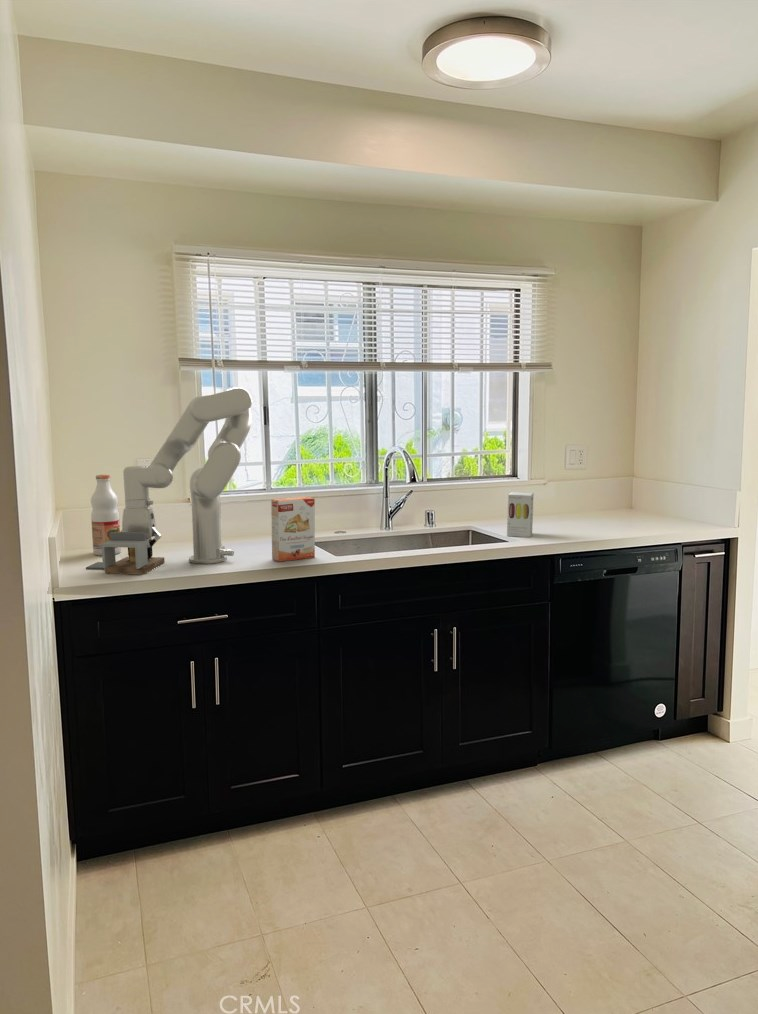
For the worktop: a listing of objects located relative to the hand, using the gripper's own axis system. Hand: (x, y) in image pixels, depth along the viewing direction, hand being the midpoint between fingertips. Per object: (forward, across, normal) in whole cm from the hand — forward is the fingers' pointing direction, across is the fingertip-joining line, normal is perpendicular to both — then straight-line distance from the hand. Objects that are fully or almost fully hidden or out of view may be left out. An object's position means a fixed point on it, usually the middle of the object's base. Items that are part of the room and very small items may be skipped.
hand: (140, 558), depth 246 cm
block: (+3, 0, 0) cm, 3 cm away
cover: (0, 0, +11) cm, 11 cm away
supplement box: (+4, -128, -69) cm, 146 cm away
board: (+3, 0, +4) cm, 4 cm away
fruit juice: (+3, +21, -18) cm, 28 cm away
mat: (+2, +12, +3) cm, 12 cm away
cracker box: (+3, -48, -16) cm, 51 cm away
